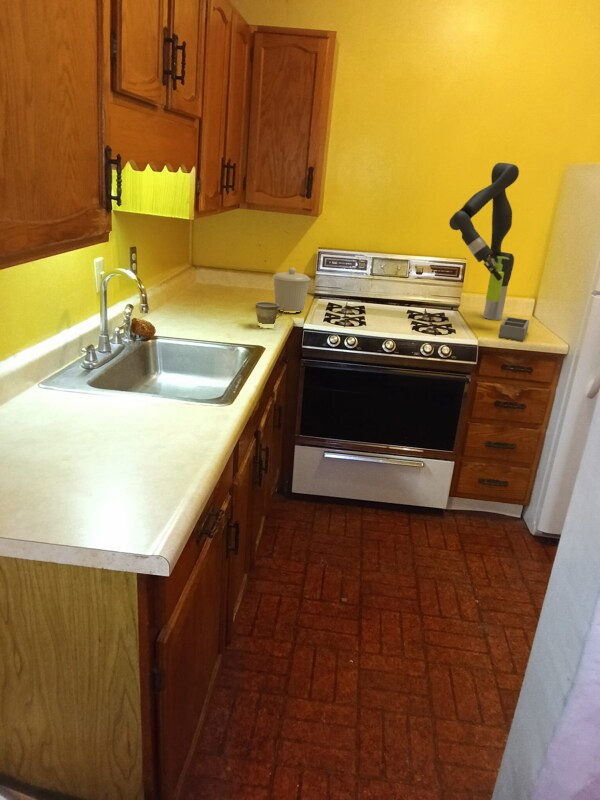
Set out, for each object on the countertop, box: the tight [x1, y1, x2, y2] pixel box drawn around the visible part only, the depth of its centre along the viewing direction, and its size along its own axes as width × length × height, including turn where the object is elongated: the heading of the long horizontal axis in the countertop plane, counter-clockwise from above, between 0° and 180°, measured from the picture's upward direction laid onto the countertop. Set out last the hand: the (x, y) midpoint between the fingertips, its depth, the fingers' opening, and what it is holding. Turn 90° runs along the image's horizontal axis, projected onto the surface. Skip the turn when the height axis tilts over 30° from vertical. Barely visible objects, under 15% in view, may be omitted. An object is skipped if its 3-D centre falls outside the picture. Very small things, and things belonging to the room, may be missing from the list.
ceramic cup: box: [255, 301, 285, 324], centre depth 265 cm, size 13×10×10 cm
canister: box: [272, 267, 312, 312], centre depth 296 cm, size 18×18×21 cm
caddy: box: [497, 316, 530, 343], centre depth 283 cm, size 21×10×6 cm, turn 155°
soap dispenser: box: [485, 257, 509, 301], centre depth 284 cm, size 6×7×20 cm
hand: (501, 278), depth 283 cm, fingers closed on soap dispenser, 6 cm apart
